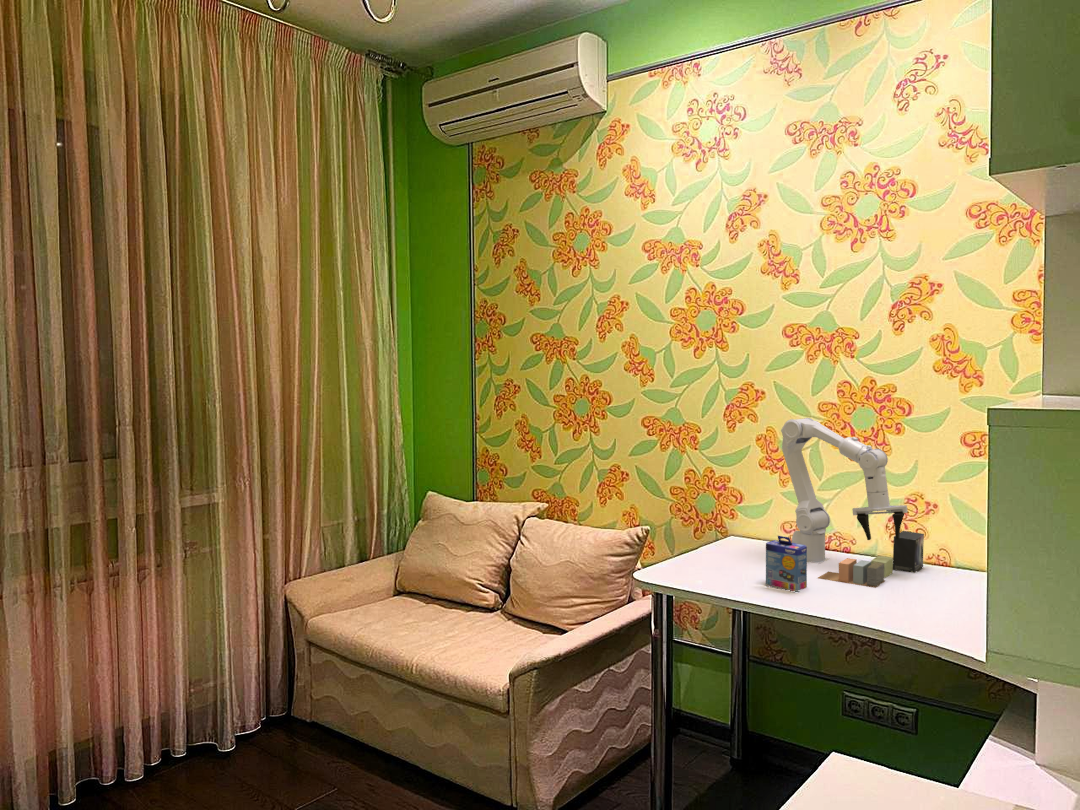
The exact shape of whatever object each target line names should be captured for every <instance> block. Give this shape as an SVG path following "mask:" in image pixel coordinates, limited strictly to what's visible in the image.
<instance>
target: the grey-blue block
mask: <svg viewBox="0 0 1080 810" xmlns="http://www.w3.org/2000/svg"><path fill="white" fill-rule="evenodd" d="M870 565H871V560H863V559H861V560H860V561H858V562H857V563H856V564H855V565H853V583H856V584H862V585H863V584H864V583H866V582H867V567H868V566H870Z"/></svg>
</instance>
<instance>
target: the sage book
mask: <svg viewBox="0 0 1080 810" xmlns="http://www.w3.org/2000/svg"><path fill="white" fill-rule="evenodd" d="M870 561H871V565H872V564H873V563H875V562H878V563H884V579H885V578H887V577H889V575H892V574H893V571H894V570H893V557H888V556H881V555H878V556H876V557H874V558H873V559H871V560H870Z"/></svg>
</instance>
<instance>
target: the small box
mask: <svg viewBox="0 0 1080 810" xmlns="http://www.w3.org/2000/svg"><path fill="white" fill-rule="evenodd" d="M924 537H925V534H924V533H921V532H920V533H919V532H914V531H907V530H902V531H900V538H899V539H896V537H895V535H894V536H893V546H892V548H893V549H892V551H893V554H892V558H893V571H898V572H904V573H911V574H915V573H916V572H917V573H918V572H920V570H922V569H923V568H924V547H925V546H924V542H925V540H924ZM922 567H923V568H922Z"/></svg>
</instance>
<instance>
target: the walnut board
mask: <svg viewBox="0 0 1080 810" xmlns="http://www.w3.org/2000/svg"><path fill="white" fill-rule="evenodd" d="M817 579H818V580H819V579H820V580H825V581H832V582H837V583H842V584H849V585H850V584H851V585H855V586H856V585H857V586H861V587H867V588H874V589H876V588H878V587H879V586H881V585H882V584H884V583H885V582H886V580H885V579H884V581H883V582H882V583H881V584H879V585H878V586H876V587H874V586H868V585H867V582H866V583H864V584H863V585H862V584H856V583H853V579H852V580H851V581H849V582H844V581H839V572H834V571H827V572H825V573H823V574H821V575H819V577H817Z"/></svg>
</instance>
